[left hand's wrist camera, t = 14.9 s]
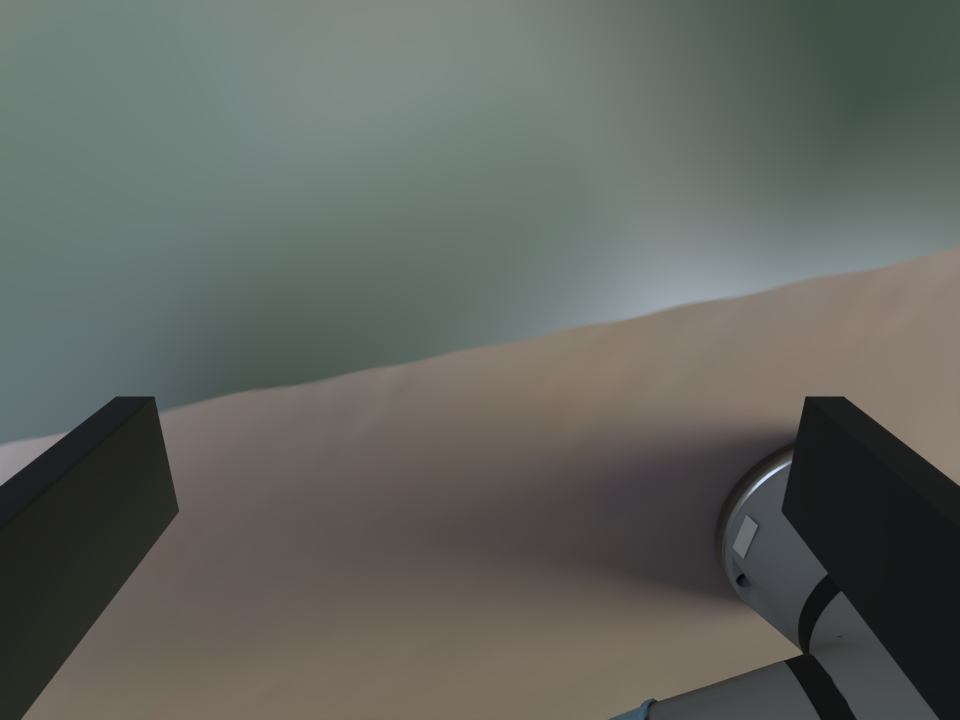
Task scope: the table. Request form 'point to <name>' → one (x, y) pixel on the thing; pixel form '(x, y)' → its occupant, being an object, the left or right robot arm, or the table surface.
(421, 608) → the table surface
